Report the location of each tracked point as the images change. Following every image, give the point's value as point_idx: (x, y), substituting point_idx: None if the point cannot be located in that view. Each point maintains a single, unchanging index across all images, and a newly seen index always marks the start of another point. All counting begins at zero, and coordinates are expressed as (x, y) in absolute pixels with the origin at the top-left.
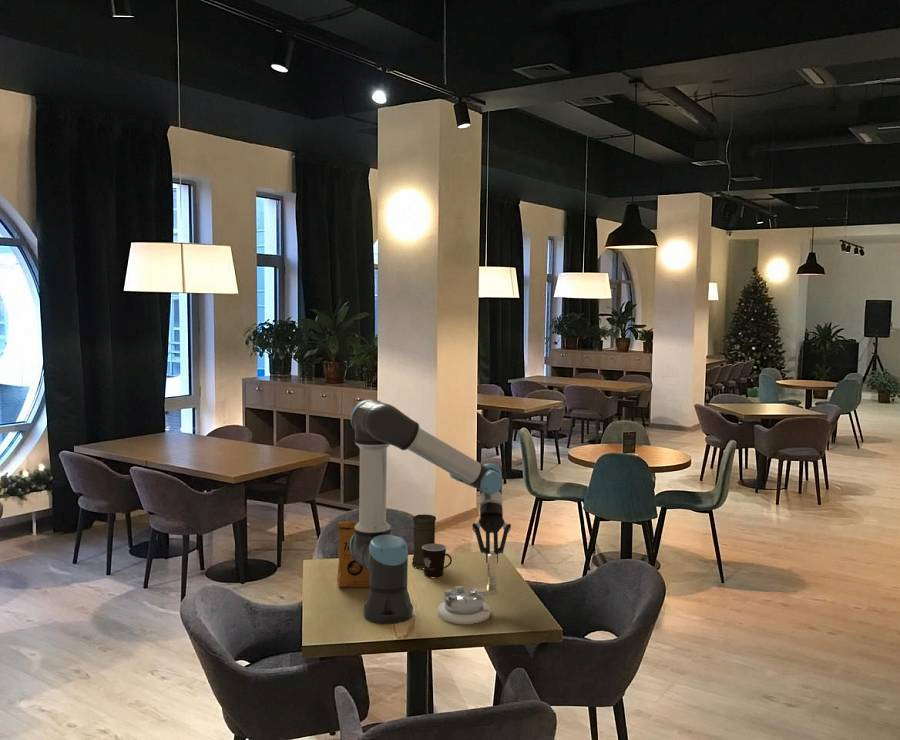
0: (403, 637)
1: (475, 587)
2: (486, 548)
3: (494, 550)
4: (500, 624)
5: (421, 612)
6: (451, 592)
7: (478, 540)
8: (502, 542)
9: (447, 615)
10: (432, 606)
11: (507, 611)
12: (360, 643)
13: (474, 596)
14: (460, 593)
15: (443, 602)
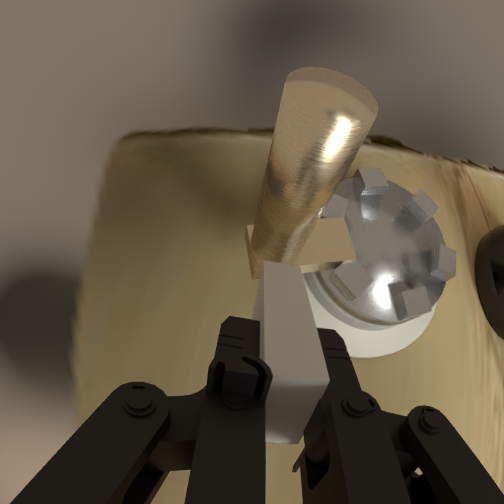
0: (458, 168)
1: (352, 288)
2: (380, 418)
3: (262, 393)
4: (249, 178)
5: (462, 295)
6: (435, 261)
7: (497, 501)
8: (88, 481)
9: None
10: (443, 342)
11: (198, 275)
12: (497, 168)
13: (350, 232)
14: (403, 273)
15: (429, 317)
